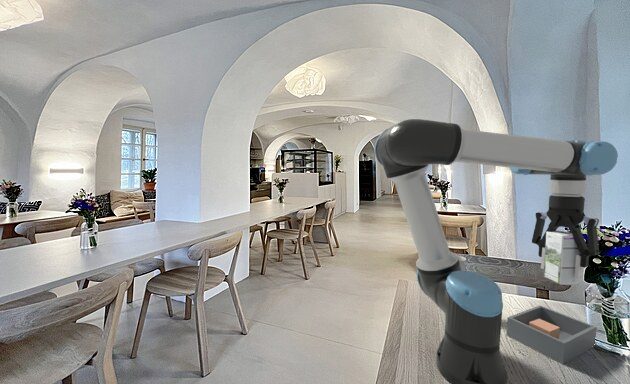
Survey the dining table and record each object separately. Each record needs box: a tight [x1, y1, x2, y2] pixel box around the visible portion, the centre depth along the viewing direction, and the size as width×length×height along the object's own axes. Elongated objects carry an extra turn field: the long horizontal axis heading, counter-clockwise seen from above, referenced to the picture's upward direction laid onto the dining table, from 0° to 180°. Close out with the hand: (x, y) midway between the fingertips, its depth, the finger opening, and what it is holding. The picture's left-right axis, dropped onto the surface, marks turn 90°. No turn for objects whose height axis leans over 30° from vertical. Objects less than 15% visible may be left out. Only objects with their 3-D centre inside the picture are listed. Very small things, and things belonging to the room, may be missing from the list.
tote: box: [506, 305, 598, 365], centre depth 78 cm, size 18×14×6 cm
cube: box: [529, 319, 560, 339], centre depth 77 cm, size 5×5×5 cm
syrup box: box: [543, 230, 580, 286], centre depth 79 cm, size 6×6×14 cm
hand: (560, 272), depth 79 cm, fingers closed on syrup box, 7 cm apart
